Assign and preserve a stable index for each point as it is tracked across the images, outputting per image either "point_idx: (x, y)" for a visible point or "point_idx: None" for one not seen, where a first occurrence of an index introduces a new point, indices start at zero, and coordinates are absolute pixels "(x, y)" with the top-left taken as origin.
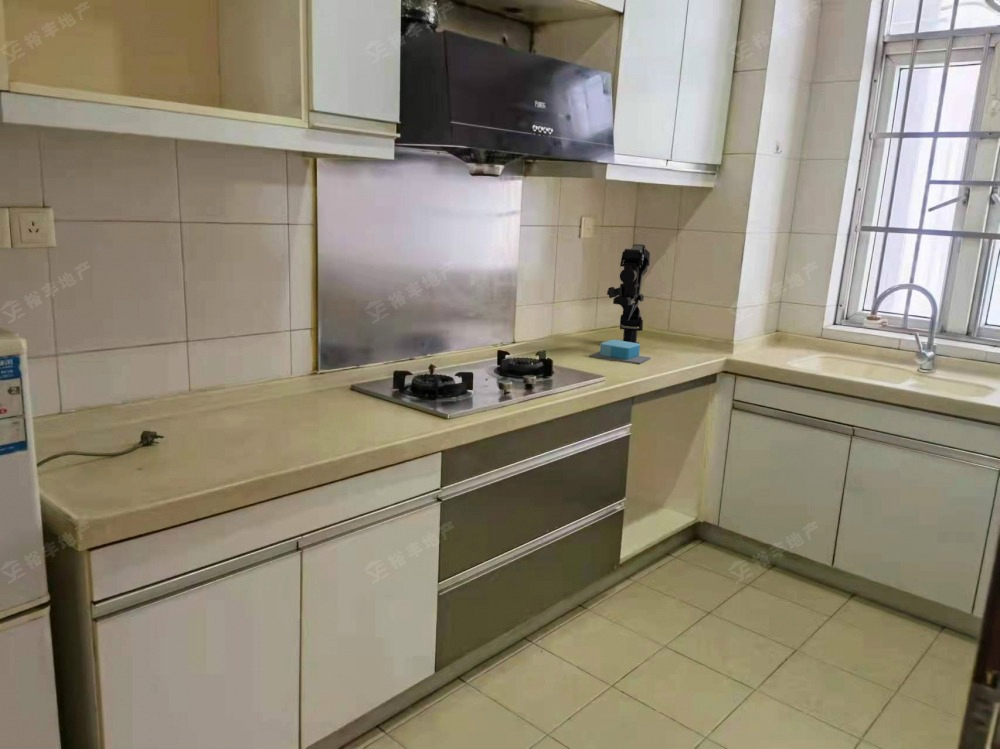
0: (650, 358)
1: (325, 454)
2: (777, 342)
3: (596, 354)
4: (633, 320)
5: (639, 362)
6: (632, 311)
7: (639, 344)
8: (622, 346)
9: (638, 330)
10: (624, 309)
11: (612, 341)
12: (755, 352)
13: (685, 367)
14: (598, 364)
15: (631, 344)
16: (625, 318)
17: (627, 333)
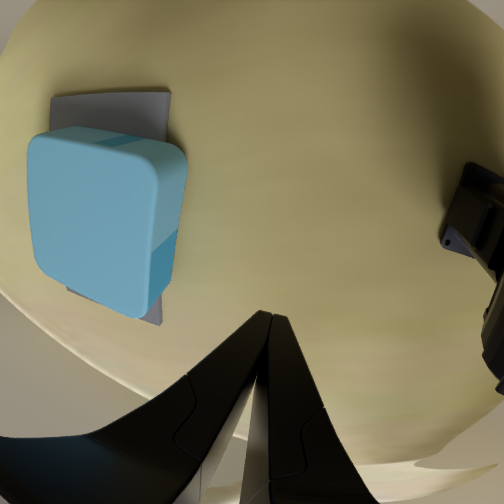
0: (161, 323)
1: None
2: (489, 467)
3: (70, 113)
4: (502, 330)
5: (68, 288)
6: (245, 469)
7: (127, 316)
8: (40, 247)
9: (488, 308)
10: (140, 427)
11: (94, 174)
12: (401, 476)
13: (133, 387)
14: (4, 173)
15: (97, 282)
16: (243, 326)
17: (488, 227)
